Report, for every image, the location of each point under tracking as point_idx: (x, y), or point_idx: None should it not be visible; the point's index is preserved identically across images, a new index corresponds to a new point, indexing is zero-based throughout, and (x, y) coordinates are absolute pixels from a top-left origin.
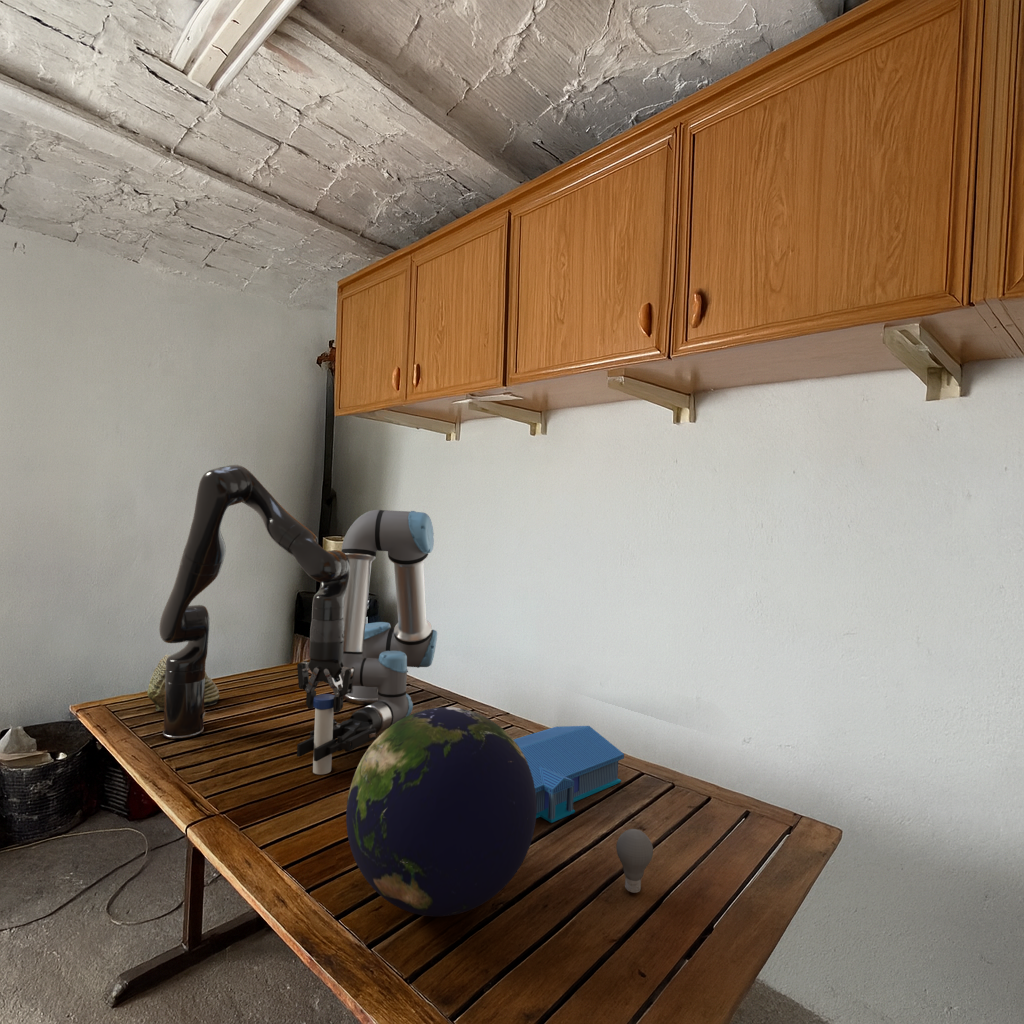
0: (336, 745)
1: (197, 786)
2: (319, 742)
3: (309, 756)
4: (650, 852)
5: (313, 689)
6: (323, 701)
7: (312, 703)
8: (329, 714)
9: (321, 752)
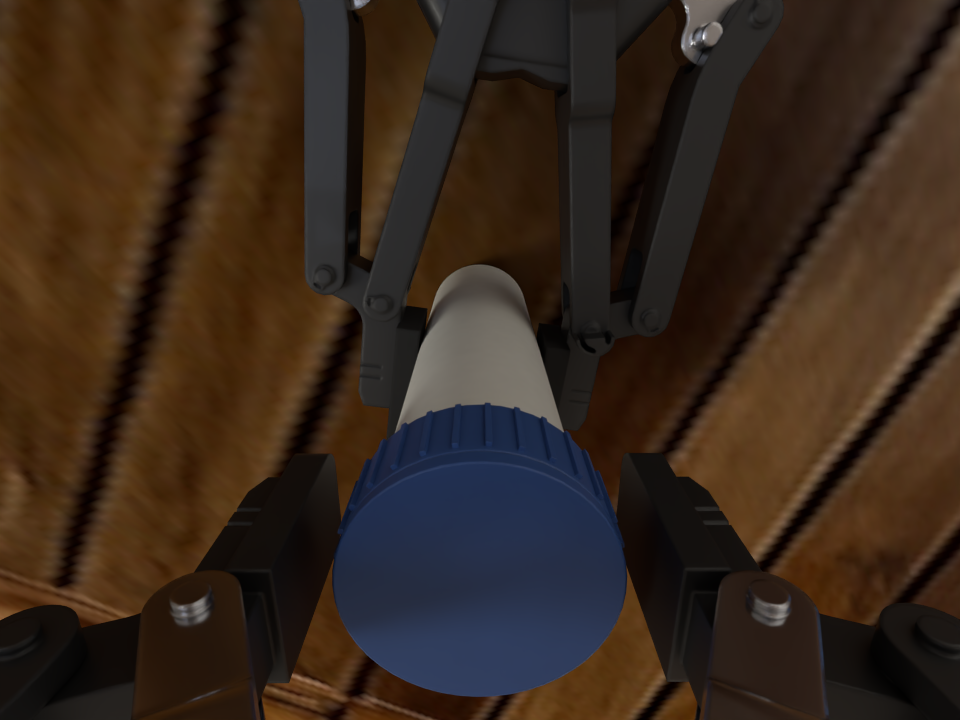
0: (593, 383)
1: (113, 594)
2: None
3: (302, 168)
4: None
5: (251, 647)
6: (534, 675)
7: (325, 536)
8: None
9: None
